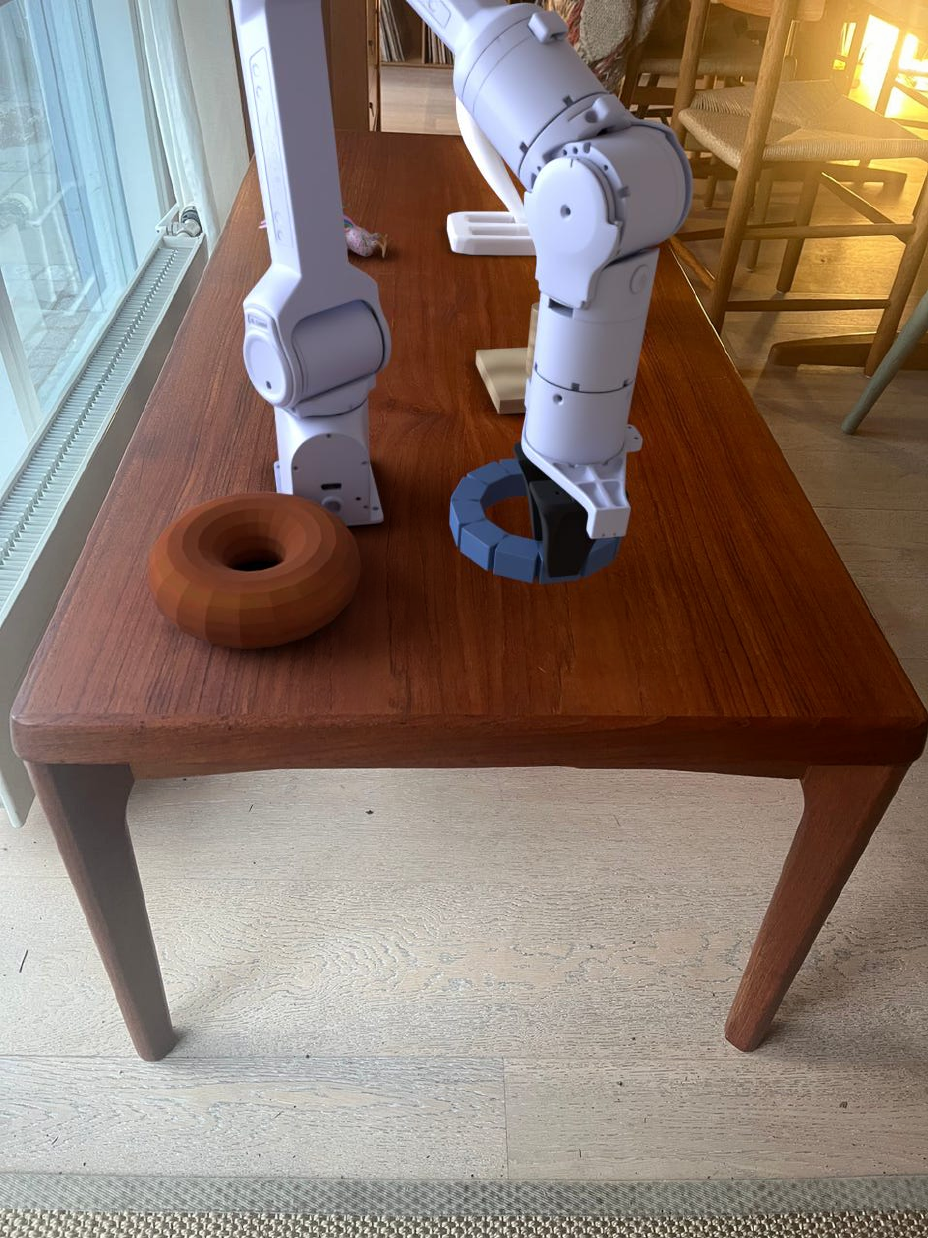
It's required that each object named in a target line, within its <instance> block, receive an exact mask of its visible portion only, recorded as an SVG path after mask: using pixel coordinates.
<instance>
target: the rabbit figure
mask: <svg viewBox="0 0 928 1238" xmlns="http://www.w3.org/2000/svg"><path fill="white" fill-rule="evenodd" d="M342 207H343V209H345V208H346V206H344V205H342ZM343 217H344V226H348V227H345V235H346V244H347V251H348V250H350V251H352V252H353V253H356V254H358V255H360V256H361V257H364V258H365V257H366V258H368V257H370V256H372V255H373V253H374V251H375V249H376V248H377V246H379V247H380V248H381V251H382V254H381V255H382V258H383V259H385V254H386V251H387V250H386V249H387V241H388V239H387V237H388V234H386V235H385V236H383V235H382V234H381V233H380V232H375V233H369V231H367V230H366V229H365V228H363V227H361V226H357V225H356V224H355V223H354V222H353V220H352V219H351V218H350V217H349V216H348V215H346V214H343ZM258 229H260V230H261V229H263V230H264V229H267V226H266V219H265V218H264V219H263V220H261V222H260V226H259V227H258ZM378 239H381V240H382V243H383V244H382V243H381V242H380V241H379V240H378Z"/></svg>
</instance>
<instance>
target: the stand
mask: <svg viewBox="0 0 928 1238" xmlns="http://www.w3.org/2000/svg"><path fill="white" fill-rule="evenodd" d="M539 305H540V301H536V302H534V303H533V304H532V305H531V311H530V319H529V321H530V322H529V332H528V342H527V347H513V348H496V349H495V348H494V349H477V350H476V352H475V365H476V368H477V370H478V372H479V374H480V376H481V378H482V381H483V383H484V385H485V388H486V389H487V392H488V394H489V396H490V399H491V401H492V403H493V405H494V407H495V409H496V412H497V414H498V415H510V414H526V411H527V408H526V406H525V404H524V403H525V393H526V384H527V378H532V370H533V361H534V352H535V343H536V333H537V324H538V314H539Z"/></svg>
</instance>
